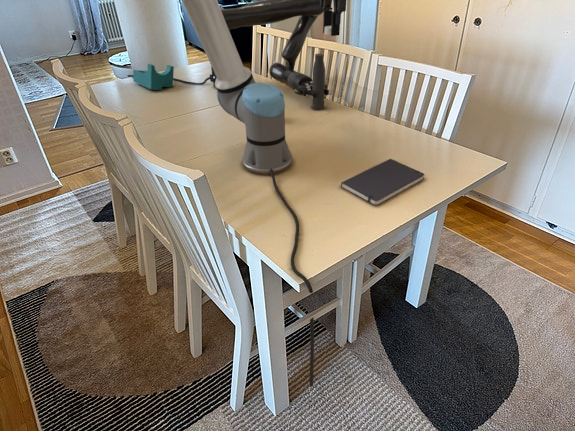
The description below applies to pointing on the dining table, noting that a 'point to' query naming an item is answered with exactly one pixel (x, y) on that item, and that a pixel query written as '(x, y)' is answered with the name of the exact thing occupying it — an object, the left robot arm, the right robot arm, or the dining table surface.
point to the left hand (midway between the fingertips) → (322, 94)
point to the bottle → (318, 82)
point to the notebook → (382, 181)
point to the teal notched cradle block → (154, 77)
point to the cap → (327, 30)
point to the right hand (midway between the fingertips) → (331, 33)
